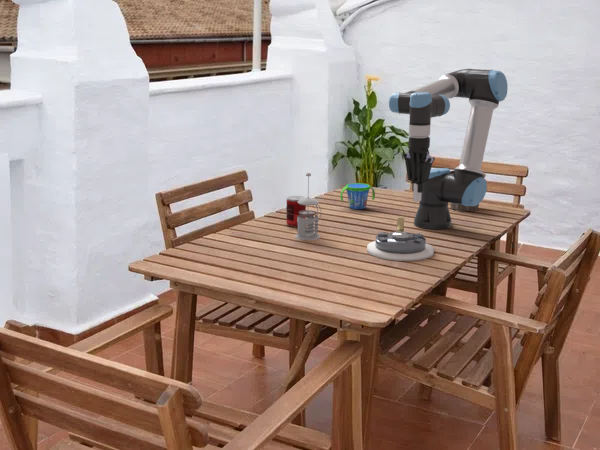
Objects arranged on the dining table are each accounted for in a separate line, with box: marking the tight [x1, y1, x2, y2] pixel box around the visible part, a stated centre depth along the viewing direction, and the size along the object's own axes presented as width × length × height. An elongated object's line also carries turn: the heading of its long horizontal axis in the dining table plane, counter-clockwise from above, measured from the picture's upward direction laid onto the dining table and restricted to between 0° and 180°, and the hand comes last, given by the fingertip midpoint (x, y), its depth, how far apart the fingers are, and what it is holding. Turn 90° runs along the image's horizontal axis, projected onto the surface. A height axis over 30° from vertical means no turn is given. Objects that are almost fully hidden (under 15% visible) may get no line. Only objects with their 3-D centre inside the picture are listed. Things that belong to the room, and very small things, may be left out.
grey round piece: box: [375, 215, 427, 254], centre depth 304 cm, size 18×18×9 cm
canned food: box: [286, 195, 307, 227], centre depth 342 cm, size 8×8×11 cm
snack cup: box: [339, 182, 376, 210], centre depth 373 cm, size 16×10×10 cm
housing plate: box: [366, 240, 435, 262], centre depth 306 cm, size 24×24×2 cm
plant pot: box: [450, 170, 487, 212], centre depth 373 cm, size 16×16×16 cm
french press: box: [294, 172, 322, 241], centre depth 322 cm, size 10×12×25 cm
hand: (417, 200), depth 307 cm, fingers closed
